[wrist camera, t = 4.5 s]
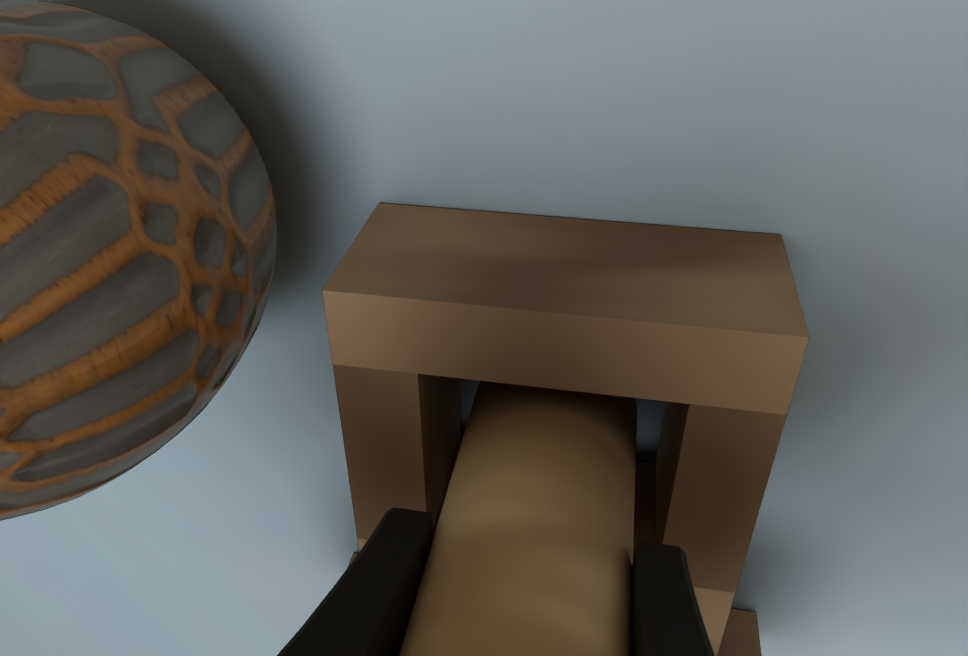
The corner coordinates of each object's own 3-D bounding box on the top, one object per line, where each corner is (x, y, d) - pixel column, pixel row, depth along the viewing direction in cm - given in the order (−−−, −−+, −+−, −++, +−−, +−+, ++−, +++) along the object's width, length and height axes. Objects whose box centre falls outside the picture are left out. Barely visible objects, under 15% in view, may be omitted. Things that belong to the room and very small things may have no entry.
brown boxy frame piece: (875, 242, 13) (1036, 582, 7) (748, 637, 19) (785, 979, 14) (300, 196, 14) (81, 452, 9) (357, 577, 21) (249, 865, 15)
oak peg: (648, 357, 13) (641, 885, 7) (626, 479, 15) (603, 995, 9) (477, 335, 14) (321, 817, 7) (474, 457, 16) (345, 934, 9)
